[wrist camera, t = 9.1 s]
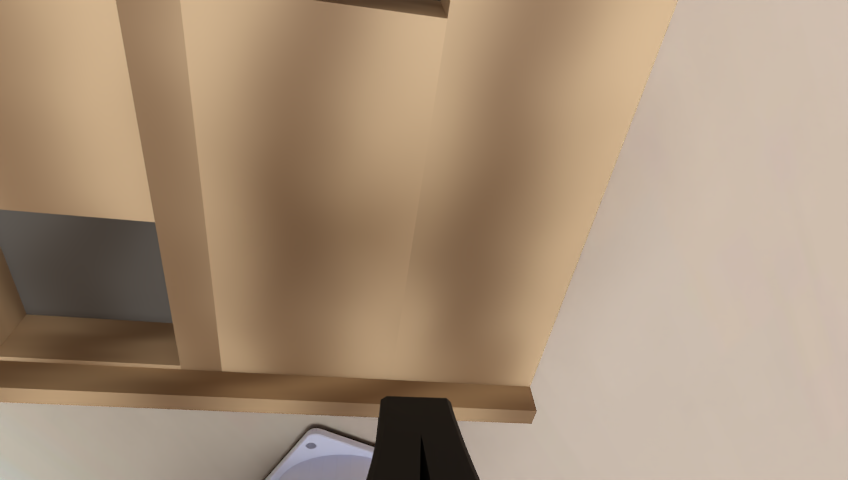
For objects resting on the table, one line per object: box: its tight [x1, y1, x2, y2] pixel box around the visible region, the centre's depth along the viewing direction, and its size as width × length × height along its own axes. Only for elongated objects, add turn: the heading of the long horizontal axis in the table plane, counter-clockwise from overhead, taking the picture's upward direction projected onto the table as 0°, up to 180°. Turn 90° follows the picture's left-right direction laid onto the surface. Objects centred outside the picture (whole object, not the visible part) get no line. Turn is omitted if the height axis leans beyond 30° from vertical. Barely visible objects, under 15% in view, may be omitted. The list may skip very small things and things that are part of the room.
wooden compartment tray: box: [0, 0, 678, 424], centre depth 15 cm, size 26×22×4 cm
